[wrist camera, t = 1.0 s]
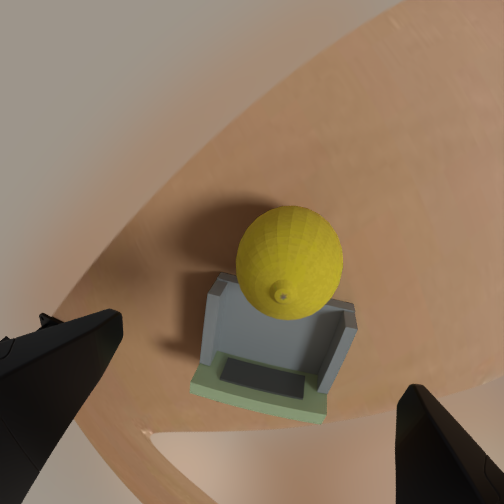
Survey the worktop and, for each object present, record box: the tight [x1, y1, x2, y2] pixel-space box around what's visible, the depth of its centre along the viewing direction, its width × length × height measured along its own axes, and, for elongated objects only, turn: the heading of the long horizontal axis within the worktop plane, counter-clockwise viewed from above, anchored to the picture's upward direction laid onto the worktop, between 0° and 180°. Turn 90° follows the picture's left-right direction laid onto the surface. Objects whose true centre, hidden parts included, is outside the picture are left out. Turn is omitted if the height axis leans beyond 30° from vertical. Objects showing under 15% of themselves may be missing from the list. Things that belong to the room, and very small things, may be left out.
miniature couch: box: [190, 272, 358, 424], centre depth 20 cm, size 10×8×5 cm
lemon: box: [236, 206, 343, 320], centre depth 16 cm, size 6×6×8 cm
